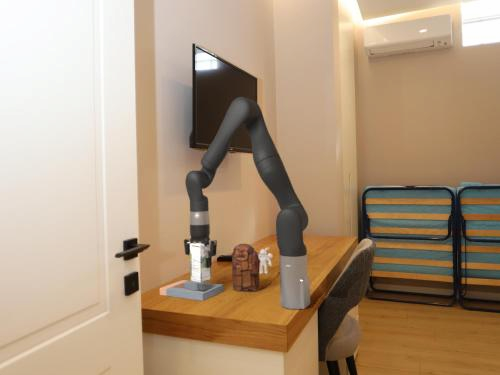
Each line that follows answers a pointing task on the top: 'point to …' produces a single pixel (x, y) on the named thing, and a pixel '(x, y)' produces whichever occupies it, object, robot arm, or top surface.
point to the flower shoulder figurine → (264, 260)
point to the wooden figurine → (245, 268)
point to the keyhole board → (181, 290)
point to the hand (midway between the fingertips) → (200, 266)
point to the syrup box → (199, 263)
